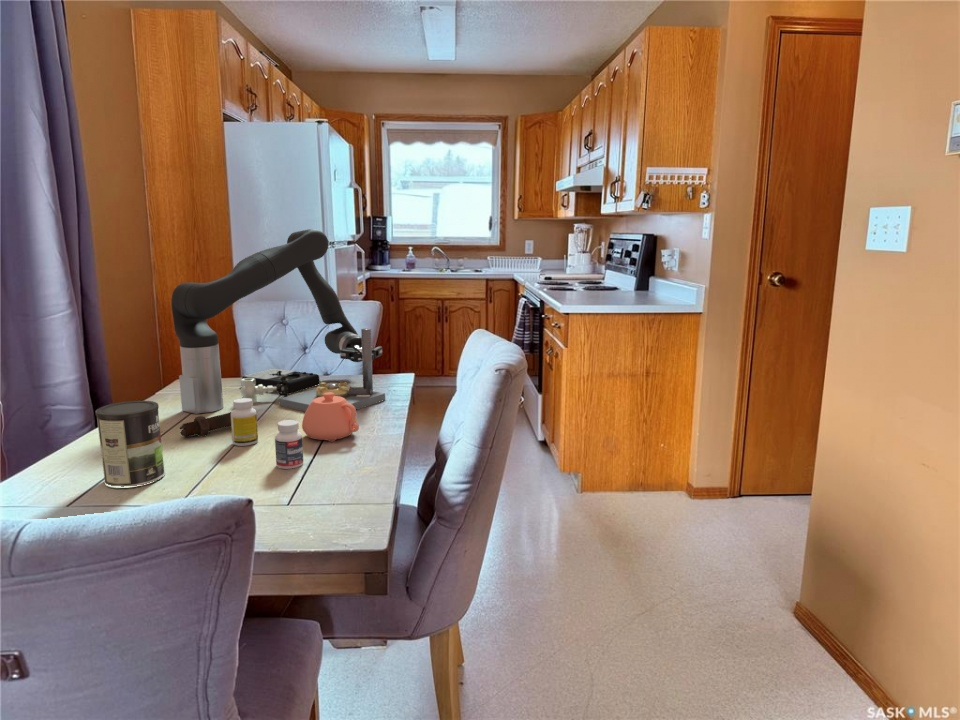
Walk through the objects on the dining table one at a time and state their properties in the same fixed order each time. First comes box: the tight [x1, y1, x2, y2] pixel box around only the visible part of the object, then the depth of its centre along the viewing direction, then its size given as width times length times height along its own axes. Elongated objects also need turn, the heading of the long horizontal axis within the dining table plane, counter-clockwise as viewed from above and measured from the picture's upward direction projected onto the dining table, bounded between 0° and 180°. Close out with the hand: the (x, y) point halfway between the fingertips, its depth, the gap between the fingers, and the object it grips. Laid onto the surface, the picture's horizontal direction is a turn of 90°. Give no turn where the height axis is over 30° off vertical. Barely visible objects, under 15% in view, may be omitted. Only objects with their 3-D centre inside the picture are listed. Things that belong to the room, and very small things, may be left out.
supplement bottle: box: [230, 397, 259, 447], centre depth 141 cm, size 5×5×10 cm
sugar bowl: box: [301, 392, 360, 442], centre depth 145 cm, size 12×14×10 cm
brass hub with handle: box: [315, 327, 374, 398], centre depth 173 cm, size 15×9×18 cm, turn 100°
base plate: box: [279, 388, 386, 412], centre depth 174 cm, size 20×20×2 cm
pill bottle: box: [274, 419, 304, 470], centre depth 127 cm, size 5×5×9 cm
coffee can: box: [95, 400, 166, 487], centre depth 119 cm, size 10×10×14 cm
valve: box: [240, 376, 289, 404], centre depth 176 cm, size 7×7×12 cm
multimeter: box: [241, 368, 320, 394], centre depth 194 cm, size 13×19×5 cm
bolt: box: [179, 407, 235, 438], centre depth 149 cm, size 6×5×15 cm
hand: (369, 358), depth 176 cm, fingers closed
